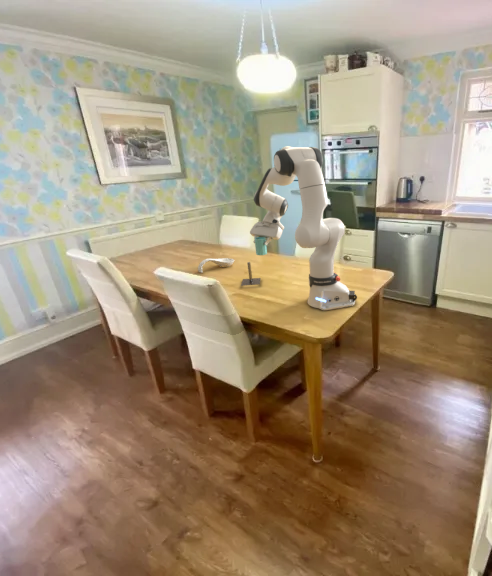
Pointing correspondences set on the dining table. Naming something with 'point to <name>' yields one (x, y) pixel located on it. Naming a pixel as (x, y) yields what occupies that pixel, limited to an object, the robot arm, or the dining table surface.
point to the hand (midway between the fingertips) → (259, 243)
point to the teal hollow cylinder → (260, 246)
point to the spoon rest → (220, 262)
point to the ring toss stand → (250, 278)
